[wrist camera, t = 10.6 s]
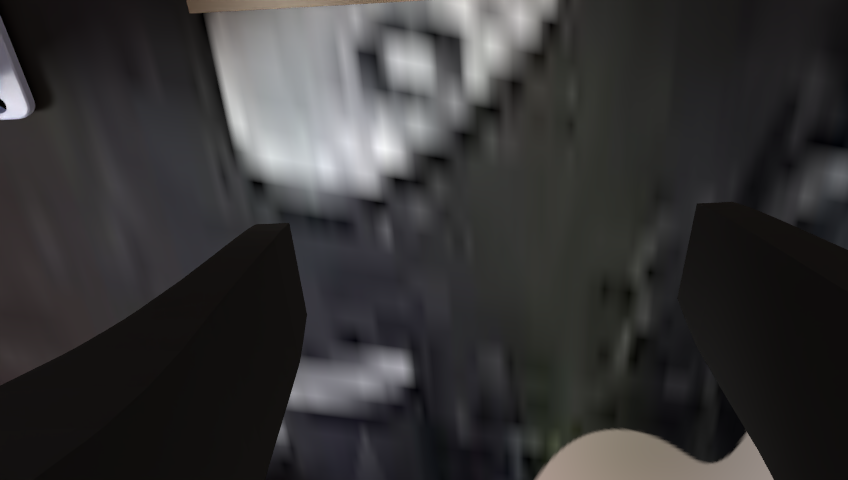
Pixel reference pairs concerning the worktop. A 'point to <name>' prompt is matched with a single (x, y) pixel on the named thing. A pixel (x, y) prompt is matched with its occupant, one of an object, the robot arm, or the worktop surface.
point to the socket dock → (268, 4)
